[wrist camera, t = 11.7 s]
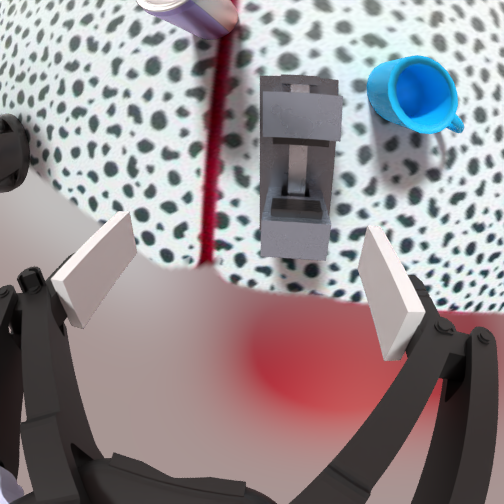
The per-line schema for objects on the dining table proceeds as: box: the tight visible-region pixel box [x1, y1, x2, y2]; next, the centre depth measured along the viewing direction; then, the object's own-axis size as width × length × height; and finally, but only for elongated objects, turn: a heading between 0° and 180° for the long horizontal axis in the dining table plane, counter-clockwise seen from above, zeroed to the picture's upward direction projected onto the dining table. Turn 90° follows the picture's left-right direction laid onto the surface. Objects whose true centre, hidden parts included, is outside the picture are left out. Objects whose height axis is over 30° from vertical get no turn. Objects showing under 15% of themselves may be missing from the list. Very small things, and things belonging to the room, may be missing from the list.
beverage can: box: [136, 0, 238, 40], centre depth 20 cm, size 6×6×15 cm
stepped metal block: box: [261, 187, 331, 261], centre depth 32 cm, size 7×5×10 cm
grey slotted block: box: [260, 75, 343, 230], centre depth 30 cm, size 9×20×11 cm, turn 0°
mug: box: [367, 55, 464, 134], centre depth 25 cm, size 12×8×8 cm
